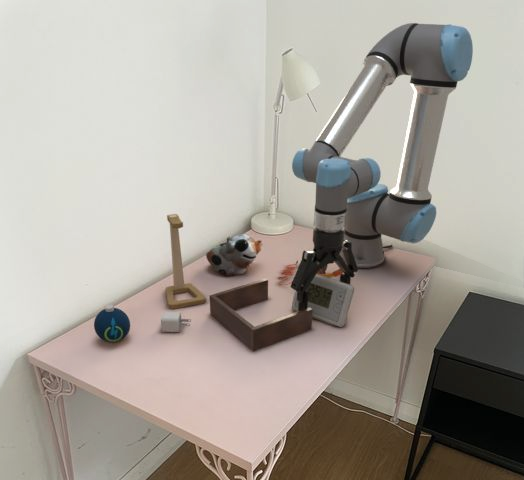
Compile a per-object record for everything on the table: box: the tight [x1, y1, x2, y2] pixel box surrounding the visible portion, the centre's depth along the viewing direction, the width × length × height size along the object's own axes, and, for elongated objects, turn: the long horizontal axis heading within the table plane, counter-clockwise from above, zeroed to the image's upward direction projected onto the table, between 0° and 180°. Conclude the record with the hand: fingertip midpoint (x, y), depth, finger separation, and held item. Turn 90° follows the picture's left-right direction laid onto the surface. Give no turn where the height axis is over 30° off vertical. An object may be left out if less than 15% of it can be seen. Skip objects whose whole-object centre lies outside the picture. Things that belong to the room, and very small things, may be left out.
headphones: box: [278, 259, 347, 286], centre depth 160 cm, size 17×5×20 cm
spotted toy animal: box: [205, 234, 264, 277], centre depth 162 cm, size 15×12×14 cm
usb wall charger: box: [160, 311, 192, 333], centre depth 135 cm, size 4×7×4 cm, turn 88°
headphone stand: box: [165, 213, 207, 310], centre depth 144 cm, size 10×11×22 cm
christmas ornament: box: [93, 304, 131, 343], centre depth 129 cm, size 8×8×10 cm
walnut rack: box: [208, 277, 313, 352], centre depth 138 cm, size 18×20×6 cm
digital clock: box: [291, 274, 355, 328], centre depth 139 cm, size 16×9×11 cm, turn 42°
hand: (323, 305), depth 141 cm, fingers open, 13 cm apart
